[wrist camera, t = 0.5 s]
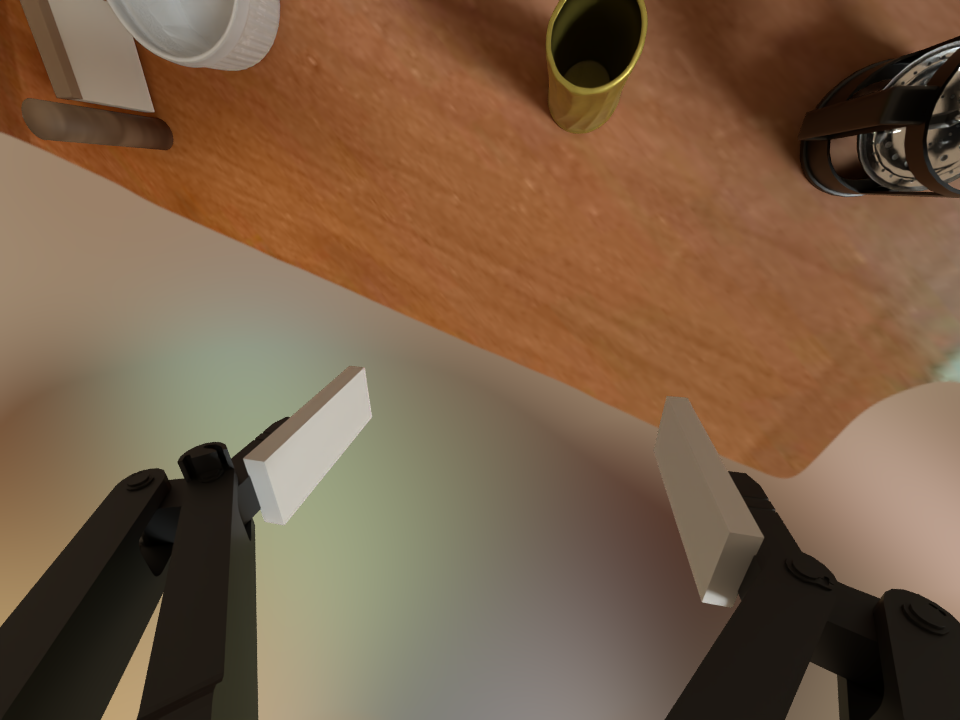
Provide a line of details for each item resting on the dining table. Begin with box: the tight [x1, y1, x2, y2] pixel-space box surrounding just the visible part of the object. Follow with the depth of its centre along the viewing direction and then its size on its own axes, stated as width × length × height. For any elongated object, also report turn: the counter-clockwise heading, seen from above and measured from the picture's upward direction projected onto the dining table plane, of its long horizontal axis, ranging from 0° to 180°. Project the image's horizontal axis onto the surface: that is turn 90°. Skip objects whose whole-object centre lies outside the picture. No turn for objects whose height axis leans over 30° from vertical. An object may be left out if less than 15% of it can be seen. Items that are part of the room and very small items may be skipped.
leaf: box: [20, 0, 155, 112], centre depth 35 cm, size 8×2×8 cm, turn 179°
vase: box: [546, 0, 648, 134], centre depth 27 cm, size 6×6×14 cm
